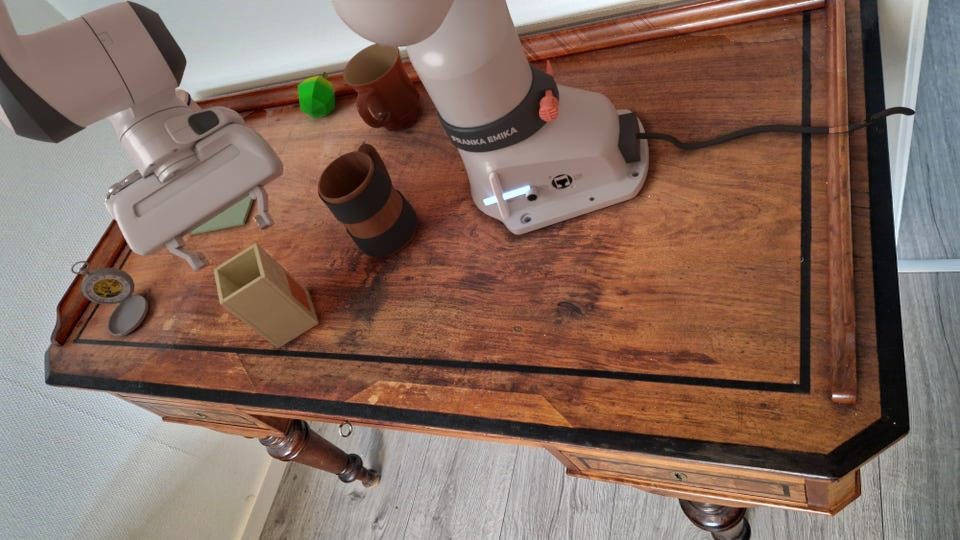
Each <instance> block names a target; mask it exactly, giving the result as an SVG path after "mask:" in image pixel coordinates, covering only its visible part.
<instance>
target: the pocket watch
mask: <svg viewBox="0 0 960 540" xmlns="http://www.w3.org/2000/svg"><path fill="white" fill-rule="evenodd" d="M78 264H86V267H80V268H79V271H78V272H77V271H74V268H75V266H77V265H78ZM89 268H90V263H89V262H88V261H87V260H80V261H76V262H75V263H73V264H72V266H71V268H70V271H71V273H73V274H74V275H85V276H84V278H83V279H82V282H81V285H80V288H81V293H82V295H83V296H84V297H85V298H86V299H87V300H89V301H90V302H93V303H96V304H98V305H117V304H118V305H117V306H116V307H115V308H114V309H113V311H112V312H111V314H110V315H109V318H108V321H107V331H108V333H109V334H110V335H112V336H114V337H123V336H127V335H128V334H130V333H132V332H133V331H135V329H137V328H138V327H139V326H140V325H141V323H142V322H143V321H144V319H145V318H146V315H147V313H148V310H149V303H148V299H146V298H145V297H144V296H142V295H139V294H136V295H133V293H134V292H135V282H134V278H132V276H131V275H130V274H129V273H128V272H126V271H125V270H122V269H120V268H116V267H102V268H97V269H94V270H92V271H89Z"/></svg>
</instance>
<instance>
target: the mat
mask: <svg viewBox="0 0 960 540" xmlns="http://www.w3.org/2000/svg"><path fill="white" fill-rule="evenodd" d="M253 202H254V199H252V198H251V196H250V195H249V196H248V197H246V198H244V199H243V200H241V201H240V202H238V203H236V204H235V205H233V206H232V207H230V208H228V209H227V210H225V211H224V212H222V213H220V214H219V215H217V216H216V217H214V218H212V219H211V220H209V221H208V222H206V223H204V224H203V225H201V226H200V227H198V228H196V229H195V230H193V231H192V232H190V234H191V235H198V234H203V233H204V234H205V233H208V232H213V231H219V230H225V229H229V228H234V227H235V228H236V227H239V226H244V225H246V222H247V219H248V217H249V214H250V210H251V208H252V205H253Z"/></svg>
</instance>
